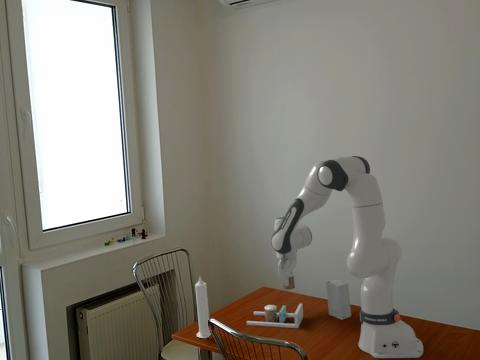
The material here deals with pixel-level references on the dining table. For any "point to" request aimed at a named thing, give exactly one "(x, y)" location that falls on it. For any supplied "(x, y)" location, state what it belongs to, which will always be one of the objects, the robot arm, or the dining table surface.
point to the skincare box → (338, 299)
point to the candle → (202, 309)
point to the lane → (297, 316)
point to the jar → (290, 282)
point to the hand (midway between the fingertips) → (288, 282)
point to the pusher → (282, 314)
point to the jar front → (271, 313)
